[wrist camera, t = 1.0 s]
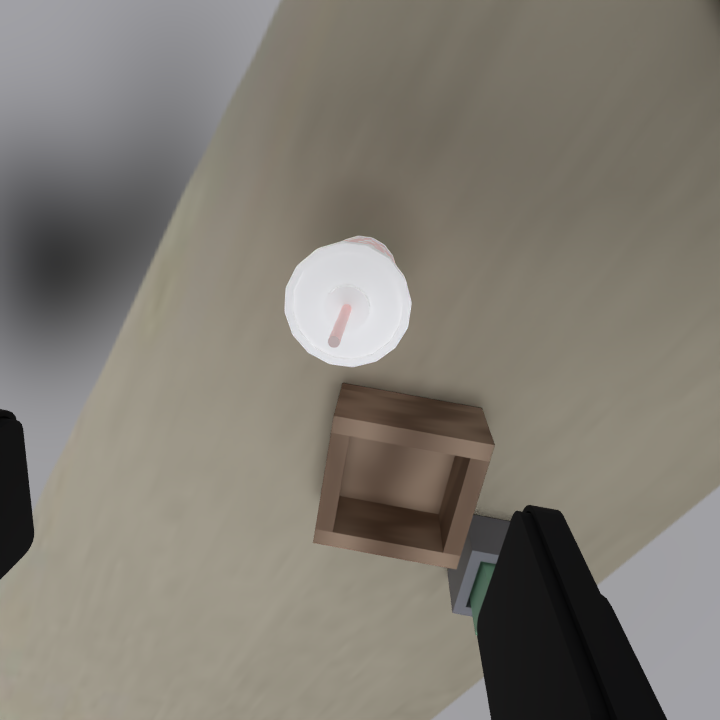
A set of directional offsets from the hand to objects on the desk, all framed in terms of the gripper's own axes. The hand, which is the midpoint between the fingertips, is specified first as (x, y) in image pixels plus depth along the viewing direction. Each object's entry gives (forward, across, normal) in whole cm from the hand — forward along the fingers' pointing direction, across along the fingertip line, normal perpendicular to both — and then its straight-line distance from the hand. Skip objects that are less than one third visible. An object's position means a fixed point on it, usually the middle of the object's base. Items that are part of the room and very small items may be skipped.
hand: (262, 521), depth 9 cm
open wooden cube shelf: (+24, -5, +13) cm, 28 cm away
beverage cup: (+24, 0, 0) cm, 24 cm away
